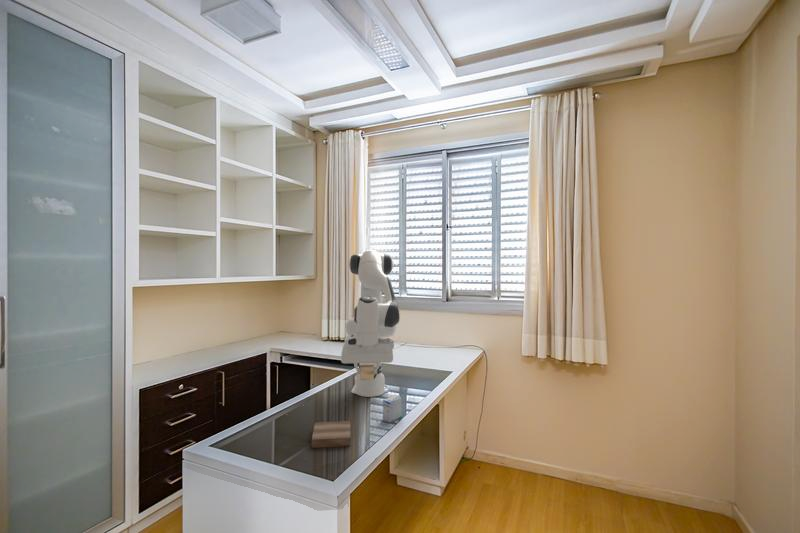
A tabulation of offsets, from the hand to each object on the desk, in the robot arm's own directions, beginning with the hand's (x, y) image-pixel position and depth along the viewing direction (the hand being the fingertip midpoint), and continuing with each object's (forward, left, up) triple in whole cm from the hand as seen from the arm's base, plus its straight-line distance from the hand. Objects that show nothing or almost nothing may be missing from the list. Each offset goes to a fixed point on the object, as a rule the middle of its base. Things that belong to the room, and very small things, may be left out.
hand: (366, 373), depth 145 cm
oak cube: (0, 0, -2) cm, 2 cm away
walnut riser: (+1, -13, -24) cm, 27 cm away
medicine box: (-14, +12, -24) cm, 31 cm away
